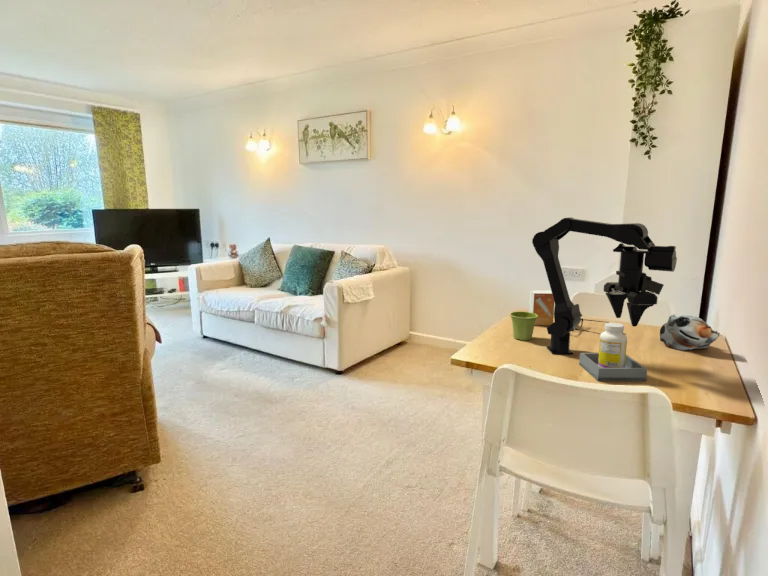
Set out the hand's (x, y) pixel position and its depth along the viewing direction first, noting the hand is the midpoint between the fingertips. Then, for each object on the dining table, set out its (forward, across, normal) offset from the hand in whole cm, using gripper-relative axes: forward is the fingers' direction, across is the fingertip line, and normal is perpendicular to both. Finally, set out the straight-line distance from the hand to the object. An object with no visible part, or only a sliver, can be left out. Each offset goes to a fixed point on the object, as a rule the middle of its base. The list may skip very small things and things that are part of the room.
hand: (626, 321), depth 125 cm
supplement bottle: (+12, -6, +6) cm, 15 cm away
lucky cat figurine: (+13, +15, -28) cm, 35 cm away
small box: (+13, +45, +10) cm, 48 cm away
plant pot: (+13, +26, +22) cm, 37 cm away
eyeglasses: (+14, +30, -5) cm, 33 cm away
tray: (+13, -6, +6) cm, 16 cm away
